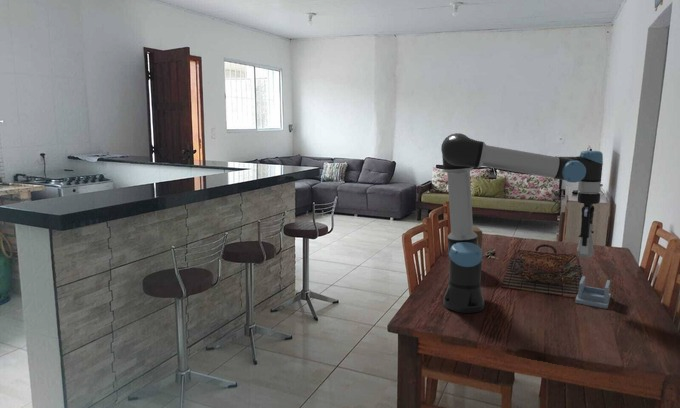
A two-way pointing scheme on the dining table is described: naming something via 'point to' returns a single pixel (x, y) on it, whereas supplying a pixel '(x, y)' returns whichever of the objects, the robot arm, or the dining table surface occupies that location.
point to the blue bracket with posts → (593, 295)
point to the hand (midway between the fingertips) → (585, 251)
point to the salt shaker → (590, 249)
